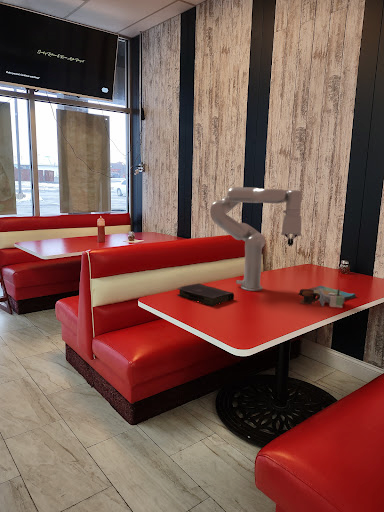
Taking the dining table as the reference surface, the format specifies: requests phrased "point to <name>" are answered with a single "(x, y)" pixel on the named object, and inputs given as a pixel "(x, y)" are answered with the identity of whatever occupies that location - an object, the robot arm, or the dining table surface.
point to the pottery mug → (308, 296)
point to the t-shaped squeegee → (326, 297)
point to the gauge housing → (335, 300)
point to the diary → (205, 294)
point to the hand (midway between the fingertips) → (290, 245)
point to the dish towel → (330, 290)
